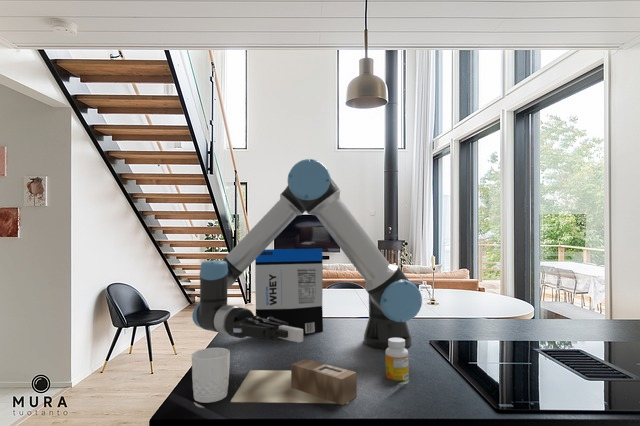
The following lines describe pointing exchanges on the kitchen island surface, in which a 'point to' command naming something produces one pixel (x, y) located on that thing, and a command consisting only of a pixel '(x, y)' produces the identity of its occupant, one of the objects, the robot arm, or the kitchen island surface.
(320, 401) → the board
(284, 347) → the kitchen island surface
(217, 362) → the white cup
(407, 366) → the supplement bottle
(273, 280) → the protein powder
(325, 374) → the block
